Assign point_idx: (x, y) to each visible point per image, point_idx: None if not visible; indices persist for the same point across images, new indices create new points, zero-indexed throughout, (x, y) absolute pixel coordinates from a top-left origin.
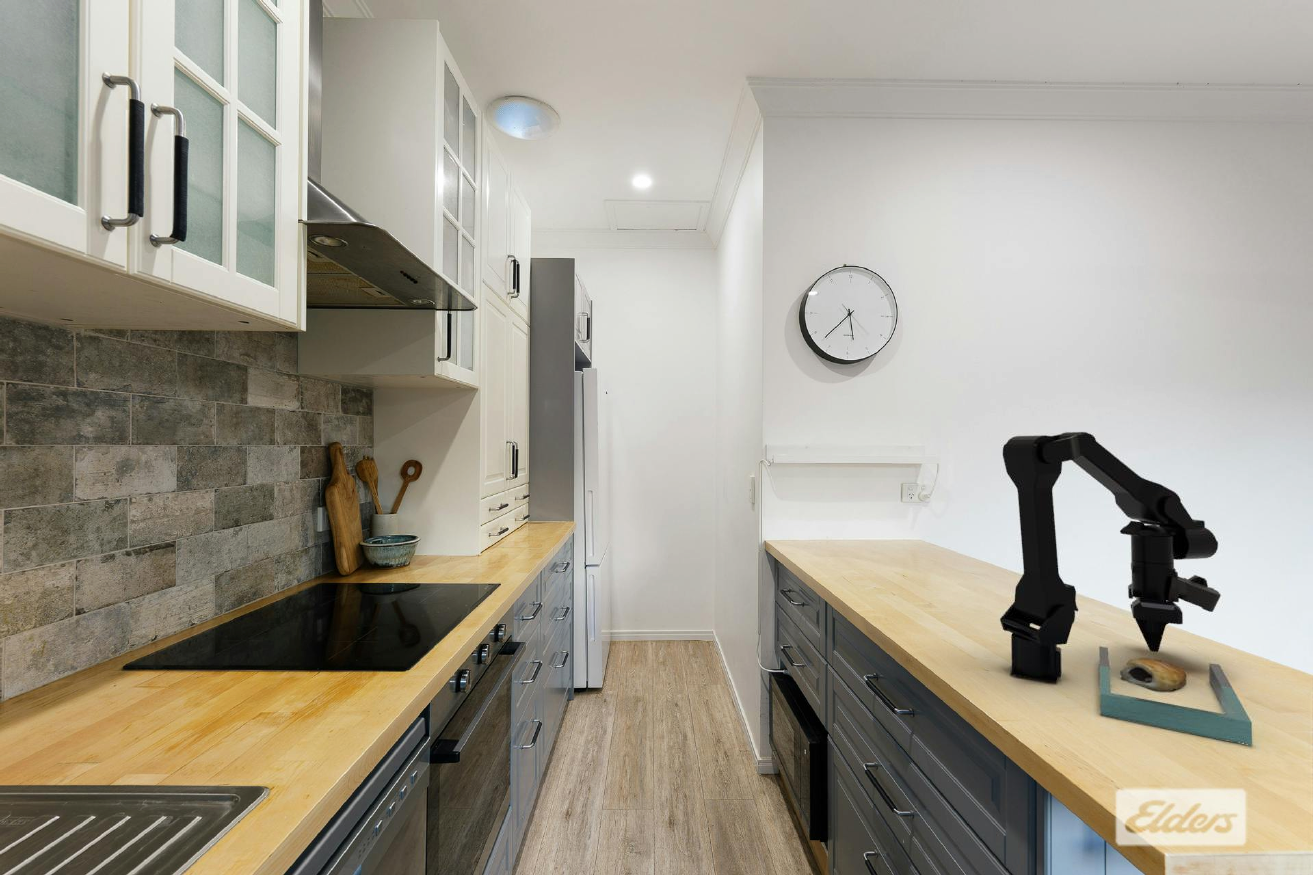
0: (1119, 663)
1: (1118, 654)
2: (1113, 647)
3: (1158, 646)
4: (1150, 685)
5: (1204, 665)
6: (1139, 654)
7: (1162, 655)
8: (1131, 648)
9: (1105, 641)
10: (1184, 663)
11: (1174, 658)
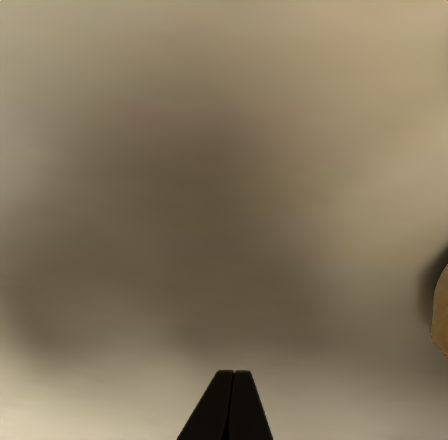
0: (327, 414)
1: (182, 407)
2: (86, 412)
3: (261, 408)
4: None
5: (44, 90)
6: (111, 350)
7: (35, 276)
8: (37, 367)
9: (22, 424)
10: (101, 193)
11: (40, 232)
